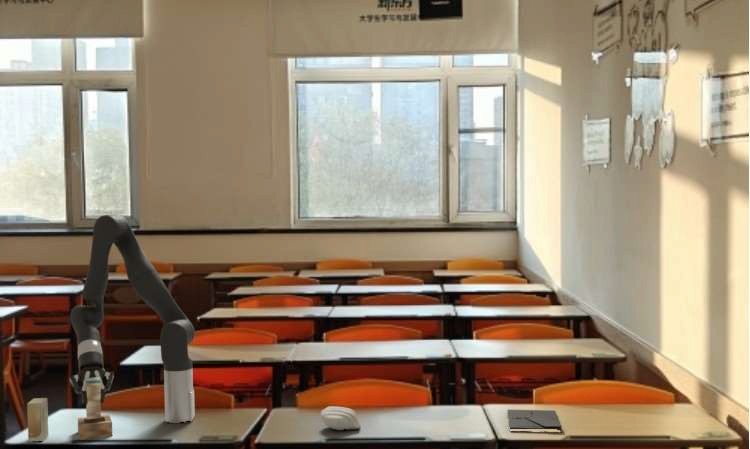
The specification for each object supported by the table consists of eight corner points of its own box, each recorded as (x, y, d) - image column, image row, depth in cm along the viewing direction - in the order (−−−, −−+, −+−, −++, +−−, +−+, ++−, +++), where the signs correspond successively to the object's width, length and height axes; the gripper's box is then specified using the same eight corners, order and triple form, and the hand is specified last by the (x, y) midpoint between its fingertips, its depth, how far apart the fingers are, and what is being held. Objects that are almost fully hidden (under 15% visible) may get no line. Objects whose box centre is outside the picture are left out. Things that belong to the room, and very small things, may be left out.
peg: (99, 414, 254) (99, 376, 254) (101, 417, 250) (100, 379, 250) (86, 416, 253) (85, 378, 252) (87, 419, 249) (86, 380, 248)
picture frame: (561, 435, 245) (555, 416, 266) (561, 426, 245) (555, 408, 266) (509, 434, 248) (507, 415, 268) (509, 424, 247) (507, 407, 268)
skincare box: (34, 436, 250) (33, 397, 249) (49, 436, 250) (47, 397, 250) (27, 443, 243) (26, 403, 243) (42, 442, 244) (41, 402, 243)
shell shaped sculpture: (311, 429, 253) (311, 409, 253) (340, 420, 262) (339, 401, 262) (340, 437, 244) (340, 416, 244) (368, 428, 254) (368, 408, 253)
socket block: (109, 428, 258) (108, 414, 258) (112, 435, 249) (112, 421, 249) (78, 431, 254) (77, 418, 254) (80, 440, 245) (79, 425, 245)
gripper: (67, 352, 255) (70, 398, 244) (113, 348, 260) (118, 393, 250) (66, 365, 260) (69, 411, 249) (112, 361, 266) (117, 406, 255)
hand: (94, 402), depth 250 cm, fingers closed on peg, 4 cm apart
